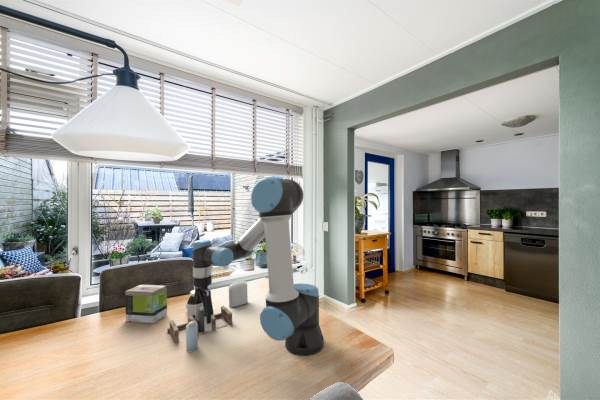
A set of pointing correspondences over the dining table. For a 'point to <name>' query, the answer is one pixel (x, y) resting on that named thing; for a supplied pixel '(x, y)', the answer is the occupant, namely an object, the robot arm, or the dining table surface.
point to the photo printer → (238, 294)
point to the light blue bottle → (191, 336)
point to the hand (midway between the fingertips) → (203, 324)
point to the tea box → (146, 303)
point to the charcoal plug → (201, 320)
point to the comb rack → (175, 329)
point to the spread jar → (191, 304)
